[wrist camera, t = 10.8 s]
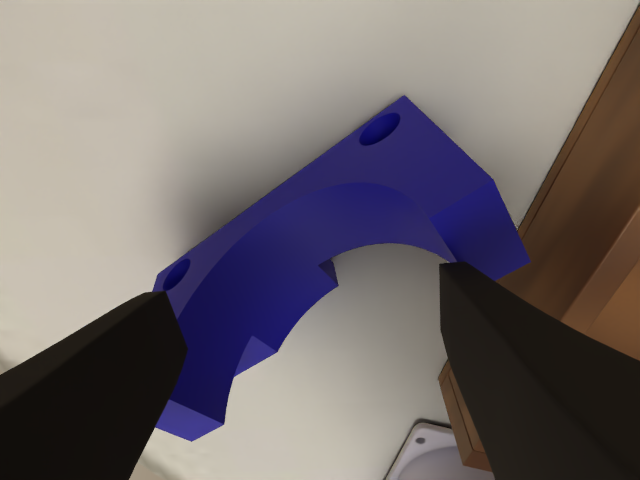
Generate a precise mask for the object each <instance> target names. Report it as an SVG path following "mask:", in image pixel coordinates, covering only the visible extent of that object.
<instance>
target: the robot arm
mask: <svg viewBox="0 0 640 480" xmlns="http://www.w3.org/2000/svg"><path fill="white" fill-rule="evenodd" d="M439 274H440V326H441V333H442V337H443V341H444V345H445V349H446V353H447V356H448V360H449V363H450V367H451V369H452V372H453V374H454V377H455V379H456V382H457V384H458V387H459V389H460V392H461V394H462V397H463V399H464V402H465V404H466V406H467V409H468V411H469V414H470V416H471V419H472V421H473V424H474V426H475V429H476V431H477V433H478V436H479V438H480V441H481V443H482V446H483V448H484V451H485V453H486V456H487V458H488V461H489V464H490V467H491V470H492V472H488V471H484V470H480V469H475V468H471V467H467V466H463V465H462V461H461V458H460V454H459V451H458V447H457V444H456V440H455V437H454V433H453V430H452V429H449V428H445V427H441V426H437V425H432V424H428V423H419V424H417V425H415V427H414V428H413V430H412V432H411V434H410V435H409V437H408V439H407V441H406V443H405V445H404V446H403V448H402V450H401V452H400V454H399V456H398V457H397V459H396V461H395V463H394V465H393V467H392V469H391V470H390V472H389V474H388V476H387V478H386V480H640V361H639V360H637V359H635V358H632V357H630V356H628V355H626V354H624V353H622V352H620V351H618V350H615V349H613V348H611V347H609V346H607V345H605V344H603V343H601V342H599V341H597V340H594V339H592V338H590V337H588V336H587V335H585V334H583V333H581V332H579V331H577V330H575V329H573V328H571V327H569V326H568V325H566V324H564V323H562V322H561V321H559V320H557V319H555V318H553V317H552V316H550V315H548V314H546V313H544V312H543V311H541V310H539V309H538V308H536V307H534V306H533V305H531V304H529V303H528V302H526V301H525V300H523V299H521V298H520V297H518V296H517V295H515V294H514V293H512V292H511V291H509V290H507V289H506V288H504V287H503V286H501V285H500V284H498V283H497V282H495V281H494V280H492V279H491V278H489V277H488V276H487V275H485V274H484V273H482V272H481V271H479V270H478V269H476V268H475V267H473V266H472V265H470V264H469V263H467V262H465V261H463V262H453V263H443V264H439ZM187 352H188V347H187V344H186V342H185V339H184V337H183V334H182V331H181V329H180V326H179V324H178V321H177V319H176V316H175V313H174V311H173V308H172V306H171V303H170V300H169V298H168V295H167V293H166V291H156V292H146V293H143V294H141V295H139V296H136V297H134V298H132V299H131V300H129V301H127V302H125V303H123V304H121V305H120V306H118V307H116V308H115V309H113V310H111V311H109V312H108V313H106V314H104V315H103V316H101V317H99V318H98V319H96V320H94V321H93V322H91V323H89V324H88V325H86V326H85V327H83V328H81V329H80V330H78V331H76V332H75V333H73V334H71V335H70V336H68V337H66V338H65V339H63V340H61V341H59V342H58V343H56V344H54V345H52V346H51V347H49V348H47V349H46V350H44V351H42V352H40V353H39V354H37V355H35V356H33V357H32V358H30V359H28V360H26V361H25V362H23V363H21V364H19V365H18V366H16V367H14V368H12V369H10V370H8V371H7V372H5V373H3V374H1V375H0V480H129V478H130V476H131V474H132V472H133V470H134V467H135V465H136V464H137V462H138V460H139V458H140V456H141V454H142V452H143V450H144V448H145V446H146V444H147V442H148V440H149V438H150V436H151V434H152V432H153V430H154V428H155V426H156V424H157V422H158V420H159V418H160V416H161V414H162V412H163V410H164V408H165V406H166V404H167V402H168V400H169V398H170V396H171V394H172V392H173V390H174V388H175V386H176V384H177V381H178V379H179V376H180V373H181V370H182V368H183V364H184V361H185V358H186V355H187Z"/></svg>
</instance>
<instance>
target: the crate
mask: <svg viewBox="0 0 640 480" xmlns="http://www.w3.org/2000/svg"><path fill="white" fill-rule="evenodd" d="M517 232H518V235H519V237H520V239H521V241H522V243H523V245H524V248H525V250H526V252H527V254H528V256H529V258H530V261H531V262H530V263H528V264H526V265H524V266H522V267H520V268H518V269H516V270H515V271H513V272H511V273H509V274H507V275H505V276H503V277H501V278H500V279H498V280H496V281H495V282H497V283H498V284H500V285H501V286H503V287H504V288H506V289H507V290H509V291H511V292H512V293H514V294H515V295H517V296H518V297H520V298H521V299H523V300H525V301H526V302H528V303H529V304H531V305H533V306H534V307H536V308H538V309H539V310H541V311H543V312H544V313H546V314H548V315H550V316H552V317H553V318H555V319H557V320H559V321H561V322H562V323H564V324H566V325H568V326H569V327H571V328H573V329H575V330H577V331H579V332H581V333H583V334H585V335H587V336H588V337H590V338H592V339H594V340H597V341H599V342H601V343H603V344H605V345H607V346H609V347H611V348H613V349H615V350H618V351H620V352H622V353H624V354H626V355H628V356H630V357H632V358H635V359H637V360H639V361H640V5H639V7H638V9H637V11H636V13H635V15H634V17H633V18H632V20H631V22H630V24H629V26H628V28H627V30H626V31H625V33H624V35H623V37H622V39H621V41H620V43H619V44H618V46H617V48H616V50H615V52H614V54H613V55H612V57H611V59H610V61H609V63H608V65H607V67H606V68H605V70H604V72H603V74H602V76H601V78H600V80H599V81H598V83H597V85H596V87H595V89H594V91H593V93H592V94H591V96H590V98H589V100H588V102H587V104H586V105H585V107H584V109H583V111H582V113H581V115H580V117H579V118H578V120H577V122H576V124H575V126H574V128H573V130H572V131H571V133H570V135H569V137H568V139H567V141H566V143H565V144H564V146H563V148H562V150H561V152H560V154H559V155H558V157H557V159H556V161H555V163H554V165H553V167H552V168H551V170H550V172H549V174H548V176H547V178H546V180H545V181H544V183H543V185H542V187H541V189H540V191H539V193H538V194H537V196H536V198H535V200H534V202H533V204H532V205H531V207H530V209H529V211H528V213H527V215H526V217H525V218H524V220H523V222H522V224H521V226H520V228H519V230H518V231H517ZM438 380H439V384H440V387H441V391H442V395H443V398H444V402H445V405H446V409H447V412H448V416H449V419H450V423H451V426H452V430H453V433H454V437H455V440H456V444H457V447H458V451H459V454H460V458H461V461H462V465H463V466H467V467H471V468H475V469H480V470H484V471H488V472H492V470H491V467H490V464H489V461H488V458H487V456H486V453H485V451H484V448H483V446H482V443H481V441H480V438H479V436H478V433H477V431H476V429H475V426H474V424H473V421H472V419H471V416H470V414H469V411H468V409H467V406H466V404H465V402H464V399H463V397H462V394H461V392H460V389H459V387H458V384H457V382H456V379H455V377H454V374H453V372H452V369H451V367H450V363H449V360H448V361H447V363H446V365H445V367H444V368H443V370H442V372H441V374H440V376H439V378H438Z"/></svg>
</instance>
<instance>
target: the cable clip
mask: <svg viewBox="0 0 640 480" xmlns="http://www.w3.org/2000/svg"><path fill="white" fill-rule="evenodd" d="M382 243H397V244H406V245H412V246H416V247H419V248H423V249H426V250H428V251H430V252H433V253H435V254H437V255H439V256H440V257H442V258H444V259H445V260H447V261H448V262H450V263H453V262H463V261H465V262H467V263H469V264H470V265H472V266H473V267H475V268H476V269H478V270H479V271H481V272H482V273H484V274H485V275H487V276H488V277H489V278H491V279H492V280H494V281H496V280H498V279H500V278H501V277H503V276H505V275H507V274H509V273H511V272H513V271H515V270H516V269H518V268H520V267H522V266H524V265H526V264H528V263H530V262H531V261H530V258H529V256H528V254H527V252H526V250H525V248H524V245H523V243H522V241H521V239H520V237H519V235H518V232H517V230H516V228H515V226H514V224H513V222H512V219H511V217H510V215H509V213H508V211H507V208H506V206H505V204H504V202H503V200H502V198H501V195H500V193H499V191H498V189H497V187H496V185H495V182H494V180H493V179H492V178H491V177H490V176H489V175H488V174H487V173H486V172H485V171H484V170H483V169H482V168H481V167H480V166H478V165H477V164H476V163H475V162H474V161H473V160H472V159H471V158H470V157H469V156H468V155H467V154H466V153H465V152H464V151H463V150H462V149H461V148H460V147H459V146H457V145H456V144H455V143H454V142H453V141H452V140H451V139H450V138H449V137H448V136H447V135H446V134H445V133H444V132H443V131H442V130H441V129H440V128H439V127H438V126H436V125H435V124H434V123H433V122H432V121H431V120H430V119H429V118H428V117H427V116H426V115H425V114H424V113H423V112H422V111H421V110H420V109H419V108H418V107H417V106H415V105H414V104H413V103H412V102H411V101H410V100H409V99H408V98H407V97H406V96H405V95H403V96H402V97H401V98H399V99H398V100H397V101H395V102H394V103H392V104H391V105H390V106H388V107H387V108H386V109H384V110H383V111H381V112H380V113H379V114H377V115H376V116H375V117H373V118H372V119H370V120H369V121H368V122H366V123H365V124H364V125H362V126H361V127H359V128H358V129H357V130H355V131H354V132H353V133H351V134H350V135H348V136H347V137H346V138H344V139H343V140H342V141H340V142H339V143H337V144H336V145H335V146H333V147H332V148H331V149H329V150H328V151H326V152H325V153H324V154H322V155H321V156H320V157H318V158H317V159H315V160H314V161H313V162H311V163H310V164H309V165H307V166H306V167H304V168H303V169H302V170H300V171H299V172H298V173H296V174H295V175H293V176H292V177H291V178H289V179H288V180H287V181H285V182H284V183H282V184H281V185H280V186H278V187H277V188H276V189H274V190H273V191H271V192H270V193H269V194H267V195H266V196H265V197H263V198H262V199H260V200H259V201H258V202H256V203H255V204H254V205H252V206H251V207H249V208H248V209H247V210H245V211H244V212H243V213H241V214H240V215H238V216H237V217H236V218H234V219H233V220H232V221H230V222H229V223H227V224H226V225H225V226H223V227H222V228H221V229H219V230H218V231H216V232H215V233H214V234H212V235H211V236H210V237H208V238H207V239H205V240H204V241H203V242H201V243H200V244H199V245H197V246H196V247H194V248H193V249H192V250H190V251H189V252H188V253H186V254H185V255H183V256H182V257H181V258H179V259H178V260H177V261H175V262H174V263H172V264H171V265H170V266H168V267H167V268H166V269H164V270H163V271H161V272H160V273H159V274H158V275H157V279H156V282H155V285H154V288H153V291H152V292H156V291H166V293H167V295H168V298H169V300H170V303H171V306H172V308H173V311H174V313H175V316H176V319H177V321H178V324H179V326H180V329H181V331H182V334H183V337H184V339H185V342H186V344H187V347H188V352H187V355H186V358H185V361H184V364H183V368H182V370H181V373H180V376H179V379H178V381H177V384H176V386H175V388H174V390H173V392H172V394H171V396H170V398H169V400H168V402H167V404H166V406H165V408H164V410H163V412H162V414H161V416H160V418H159V420H158V422H157V424H156V426H155V427H156V428H158V429H161V430H163V431H166V432H168V433H171V434H174V435H176V436H179V437H181V438H184V439H186V440H189V441H191V442H192V441H194V440H196V439H198V438H200V437H201V436H203V435H205V434H207V433H209V432H211V431H213V430H215V429H217V428H218V427H220V426H222V425H224V422H225V414H226V407H227V402H228V396H229V392H230V388H231V385H232V381H233V378H234V377H235V376H236V375H238V374H240V373H242V372H243V371H245V370H247V369H249V368H250V367H252V366H254V365H256V364H257V363H259V362H261V361H263V360H264V359H266V358H268V357H270V356H271V355H273V354H275V353H277V352H278V350H279V348H280V346H281V345H282V343H283V341H284V340H285V338H286V337H287V335H288V334H289V332H290V331H291V329H292V328H293V327H294V326H295V324H296V323H297V322H298V321H299V319H300V318H301V317H302V316H303V315H304V314H305V313H306V312H307V311H308V310H309V309H310V308H311V307H312V306H313V305H314V304H315V303H316V302H317V301H318V300H320V299H321V298H322V297H323V296H324V295H326V294H327V293H329V292H330V291H331V290H333V289H334V288H336V287H338V286H339V285H338V281H337V277H336V272H335V268H334V264H333V262H332V261H331V260H330V258H332V257H334V256H336V255H338V254H341V253H343V252H346V251H348V250H351V249H354V248H358V247H362V246H366V245H373V244H382Z"/></svg>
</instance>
